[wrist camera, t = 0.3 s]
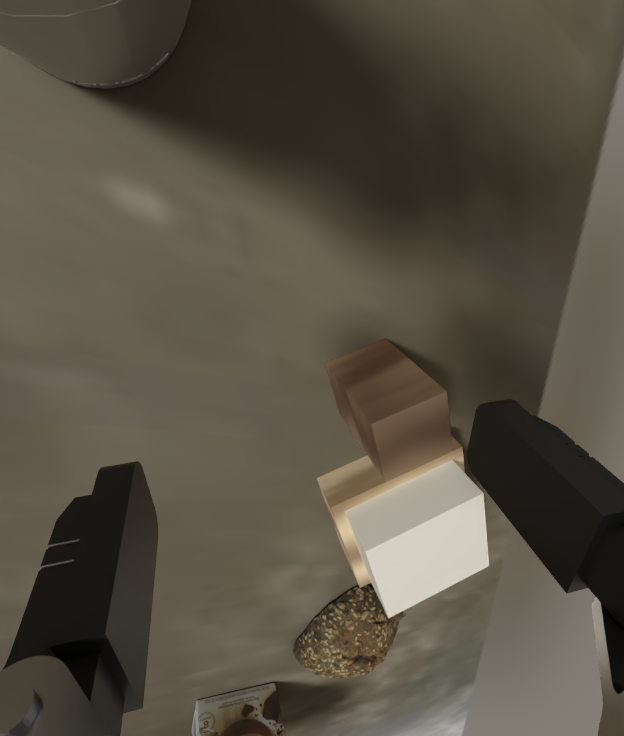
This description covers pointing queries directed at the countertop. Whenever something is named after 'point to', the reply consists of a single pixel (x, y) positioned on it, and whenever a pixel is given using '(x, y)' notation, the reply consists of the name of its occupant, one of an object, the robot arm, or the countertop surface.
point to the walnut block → (391, 407)
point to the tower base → (367, 496)
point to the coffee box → (240, 714)
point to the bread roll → (348, 635)
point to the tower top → (421, 536)
